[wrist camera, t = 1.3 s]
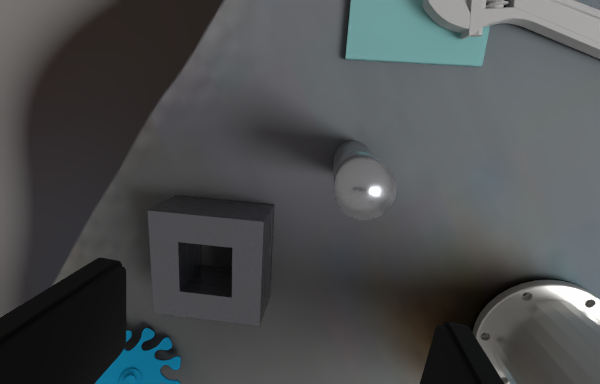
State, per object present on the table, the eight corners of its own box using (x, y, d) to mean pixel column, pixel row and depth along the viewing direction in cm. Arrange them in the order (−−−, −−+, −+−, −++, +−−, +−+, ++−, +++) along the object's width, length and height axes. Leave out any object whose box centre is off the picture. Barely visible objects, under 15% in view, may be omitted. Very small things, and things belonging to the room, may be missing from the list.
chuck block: (274, 204, 31) (263, 222, 26) (270, 295, 34) (259, 326, 29) (175, 195, 32) (147, 210, 27) (178, 284, 34) (153, 313, 30)
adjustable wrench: (728, 70, 25) (758, 67, 23) (669, 145, 26) (694, 148, 25) (445, -78, 24) (454, -92, 22) (401, 11, 25) (407, 4, 23)
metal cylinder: (373, 142, 29) (400, 163, 17) (368, 179, 30) (391, 223, 18) (335, 139, 29) (337, 158, 17) (331, 176, 30) (331, 217, 18)
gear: (202, 373, 35) (118, 467, 30) (198, 368, 40) (126, 447, 35) (133, 300, 35) (39, 381, 30) (138, 304, 40) (58, 374, 35)
